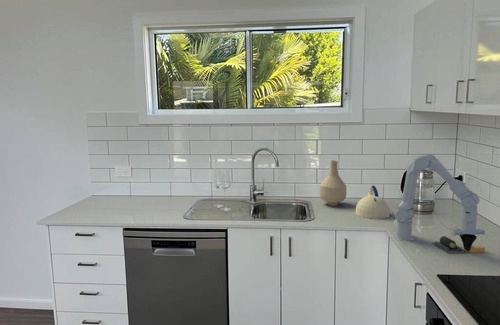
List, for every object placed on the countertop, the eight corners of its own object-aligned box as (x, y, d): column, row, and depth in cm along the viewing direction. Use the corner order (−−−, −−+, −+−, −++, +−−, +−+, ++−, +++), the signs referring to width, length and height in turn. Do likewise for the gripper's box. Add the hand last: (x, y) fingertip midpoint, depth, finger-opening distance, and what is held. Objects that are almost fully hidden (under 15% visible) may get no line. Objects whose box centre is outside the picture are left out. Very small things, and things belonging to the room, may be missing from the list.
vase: (336, 209, 245) (337, 163, 241) (314, 204, 258) (315, 160, 254) (351, 204, 257) (352, 160, 253) (329, 200, 270) (330, 158, 266)
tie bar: (466, 250, 171) (467, 245, 171) (481, 250, 172) (481, 244, 171) (469, 252, 169) (470, 246, 169) (484, 251, 170) (485, 246, 169)
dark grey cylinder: (439, 244, 180) (439, 236, 179) (447, 244, 180) (447, 235, 179) (448, 250, 172) (449, 241, 172) (457, 249, 173) (457, 241, 172)
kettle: (384, 210, 243) (386, 182, 240) (393, 219, 222) (395, 189, 220) (352, 209, 245) (353, 182, 242) (358, 218, 224) (359, 188, 222)
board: (430, 243, 182) (430, 240, 182) (449, 242, 183) (449, 239, 183) (461, 262, 159) (461, 259, 159) (482, 261, 160) (483, 258, 160)
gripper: (459, 224, 163) (457, 254, 165) (490, 222, 164) (488, 252, 166) (449, 219, 170) (447, 248, 172) (479, 218, 171) (477, 247, 173)
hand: (466, 250), depth 170 cm, fingers closed
